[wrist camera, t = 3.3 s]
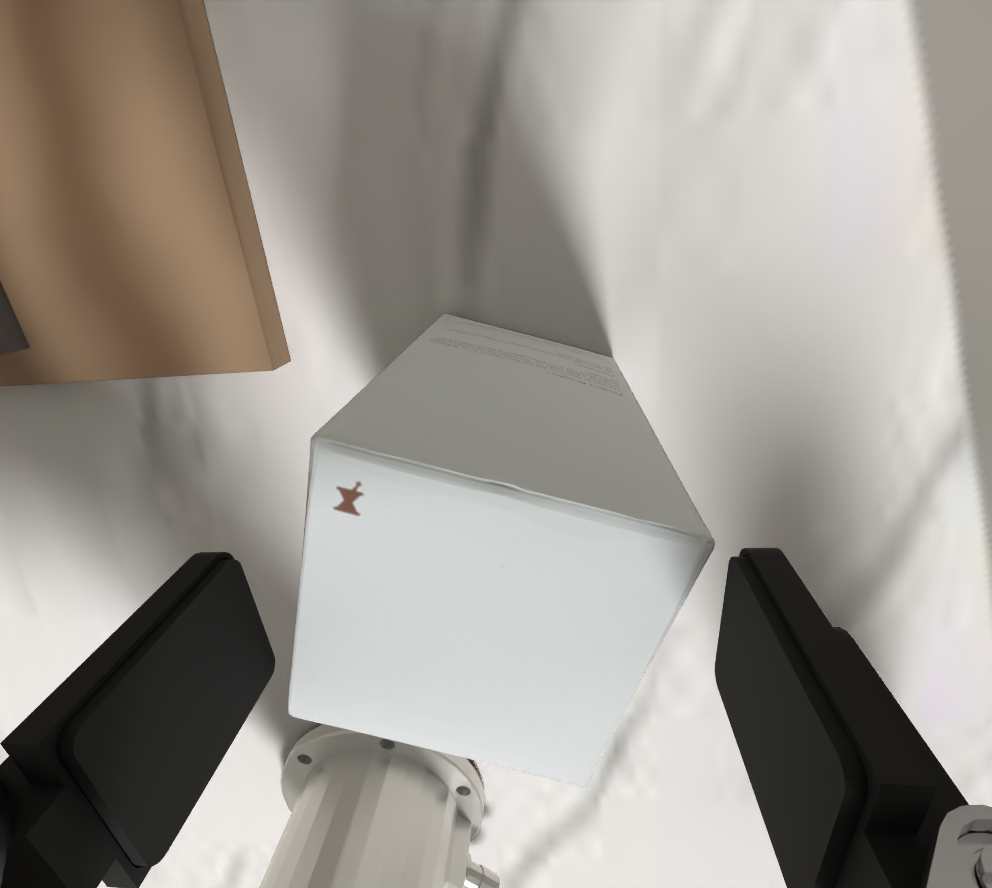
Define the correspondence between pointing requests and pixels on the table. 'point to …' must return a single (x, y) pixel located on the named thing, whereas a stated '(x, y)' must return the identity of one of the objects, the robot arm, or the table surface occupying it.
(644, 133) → the table surface
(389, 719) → the supplement box
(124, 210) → the board
